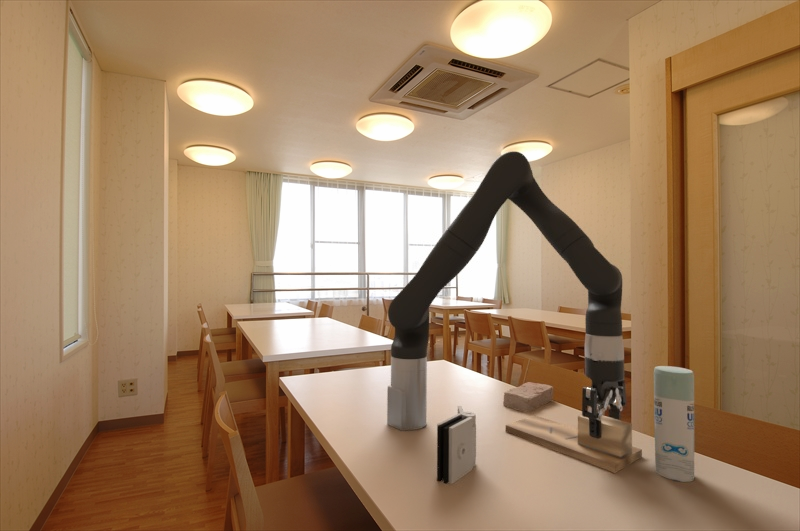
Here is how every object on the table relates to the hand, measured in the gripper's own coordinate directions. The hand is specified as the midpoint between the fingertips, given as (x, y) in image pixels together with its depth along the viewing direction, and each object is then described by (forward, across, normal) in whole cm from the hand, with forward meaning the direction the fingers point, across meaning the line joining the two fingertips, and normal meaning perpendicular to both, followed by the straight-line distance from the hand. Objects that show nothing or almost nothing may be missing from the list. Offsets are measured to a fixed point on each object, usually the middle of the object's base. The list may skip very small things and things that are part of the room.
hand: (605, 432), depth 86 cm
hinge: (+5, +29, -15) cm, 33 cm away
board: (+5, 0, -8) cm, 10 cm away
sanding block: (+3, 0, 0) cm, 3 cm away
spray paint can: (+5, -3, +12) cm, 13 cm away
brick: (+5, -18, -31) cm, 36 cm away
